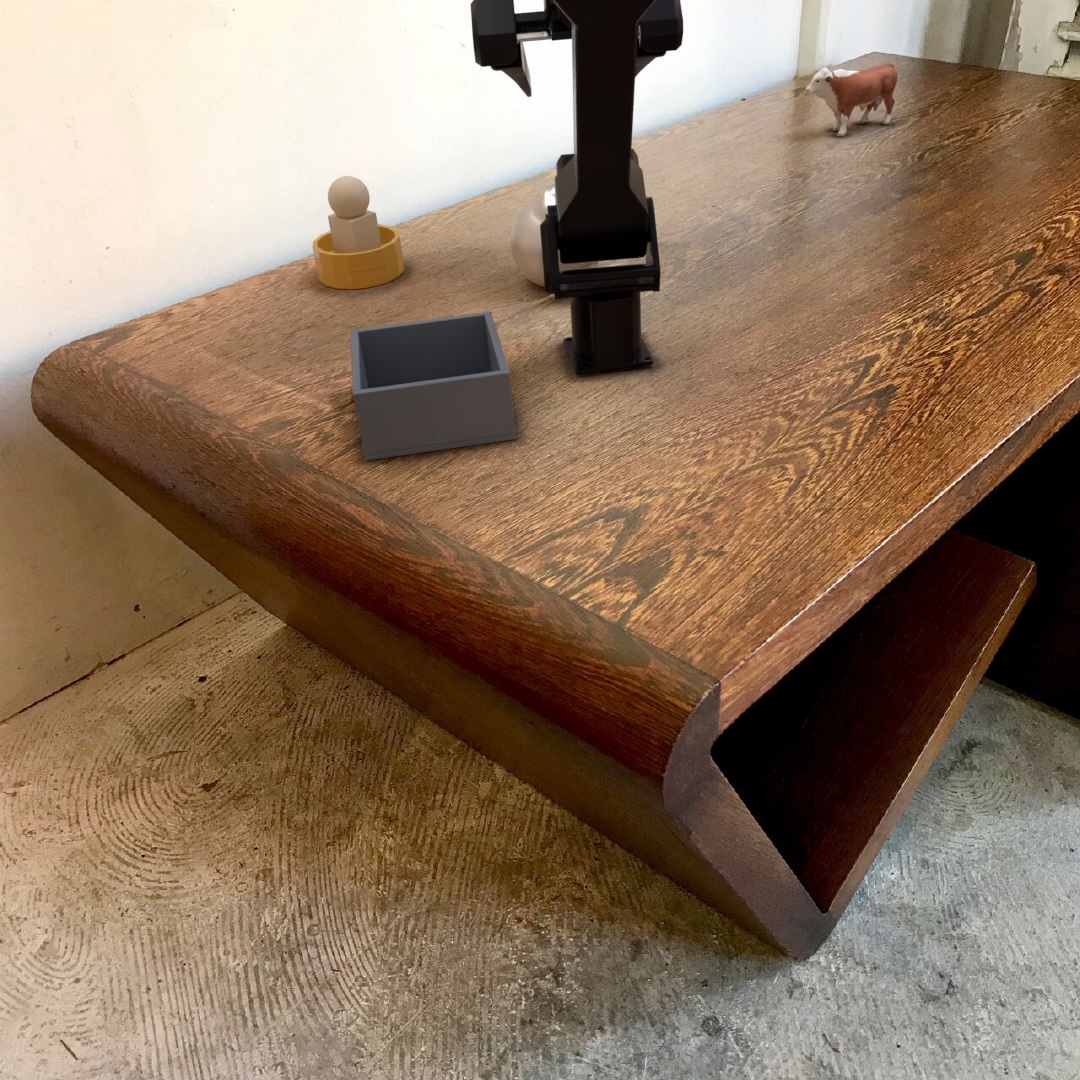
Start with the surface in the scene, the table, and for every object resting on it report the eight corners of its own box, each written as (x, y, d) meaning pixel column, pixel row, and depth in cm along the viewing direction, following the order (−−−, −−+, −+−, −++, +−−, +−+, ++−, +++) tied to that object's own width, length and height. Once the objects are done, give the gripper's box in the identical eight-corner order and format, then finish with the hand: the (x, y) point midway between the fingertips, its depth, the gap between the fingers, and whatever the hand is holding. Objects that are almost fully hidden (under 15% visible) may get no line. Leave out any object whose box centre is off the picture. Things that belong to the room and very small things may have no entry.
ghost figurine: (541, 314, 96) (533, 205, 90) (499, 281, 103) (489, 178, 97) (627, 291, 99) (625, 184, 93) (581, 260, 106) (576, 159, 100)
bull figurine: (797, 135, 136) (801, 67, 131) (880, 116, 140) (888, 50, 135) (818, 142, 133) (823, 73, 128) (903, 123, 137) (911, 56, 132)
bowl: (407, 287, 104) (401, 248, 101) (320, 299, 103) (311, 259, 101) (402, 257, 111) (397, 219, 108) (320, 267, 110) (313, 229, 108)
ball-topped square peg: (390, 270, 106) (374, 174, 101) (359, 283, 104) (342, 185, 99) (364, 262, 109) (347, 168, 103) (334, 275, 106) (315, 179, 101)
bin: (516, 439, 78) (509, 372, 75) (365, 460, 77) (352, 394, 74) (497, 373, 87) (490, 310, 84) (362, 391, 86) (350, 329, 83)
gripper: (676, -127, 90) (662, 15, 105) (459, -109, 90) (476, 31, 105) (691, -26, 87) (675, 106, 102) (466, -6, 87) (482, 123, 102)
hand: (576, 89), depth 103 cm, fingers open, 9 cm apart
